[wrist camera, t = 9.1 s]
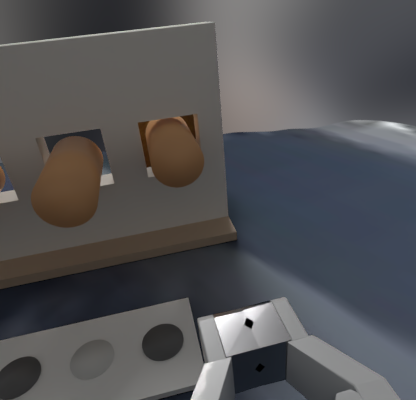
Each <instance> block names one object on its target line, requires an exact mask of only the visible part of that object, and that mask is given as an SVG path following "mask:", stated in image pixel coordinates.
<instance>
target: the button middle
mask: <svg viewBox="0 0 416 400" xmlns="http://www.w3.org/2000/svg"><path fill="white" fill-rule="evenodd" d="M102 167H103V156H102V153H101V151H100V149H99V147H98V146H97V145H96V144H95V143H94V142H92V141H91V140H89V139H87V138H84V137H79V136H70V137H66V138H64V139H62V140H60V141H59V142H58V143H57V144H56V145H55V146H54V148H53V151H52V152H51V154H50V156H49V158H48V160H47V162H46V164H45V166H44V168H43V170H42V172H41V174H40V176H39V178H38V180H37V182H36V184H35V186H34V188H33V190H32V193H31V204H32V207H33V209H34V211H35V212H36V214H37V215H38V216H39V217H40V218H41V219H42V220H44V221H45V222H47V223H49V224H51V225H54V226H57V227H63V228H70V227H76V226H80V225H82V224H84V223H86V222H87V221H89V220H90V219H91V218H92V217H93V215H94V214H95V212H96V210H97V206H98V199H99V191H100V183H101V175H102Z"/></svg>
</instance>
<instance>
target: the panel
mask: <svg viewBox="0 0 416 400" xmlns="http://www.w3.org/2000/svg"><path fill="white" fill-rule="evenodd" d="M192 114H193V116H194V125H195V134H196V142H197V143H198V145H199V147H200V149H201V151H202V153H203V156H204V167H203V170H202V173H201V174H200V176H199V177H198V178H197V179H196V180H195V181H194V182H193V183H191V184H189V185H187V186H184V187H178V188H175V187H169V186H166V185H164V184H162V183H161V182H159V181H158V180H157V178H156V177H155V176H154V174H153V172H152V168H151V167H146V162H145V157H144V152H143V147H142V142H141V137H140V132H139V127H138V123H139V122H145V121H152V120H159V119H165V118H172V117H178V116H185V115H192ZM99 128H100V129H101V133H102V137H103V141H104V145H105V149H106V152H107V156H108V160H109V164H110V168H111V172H112V174H106V175H101V183H100V191H99V199H98V206H97V210H96V212H95V214H94V215H93V217H92V218H91V219H90V220H89V221H87V222H86V223H84V224H82V225H80V226H76V227H70V228H63V227H57V226H54V225H51V224H49V223H47V222H45V221H44V220H42V219H41V218H40V217H39V216H38V215H37V214H36V212H35V211H34V209H33V207H32V204H31V193H32V190H33V188H34V186H35V184H36V182H37V180H38V178H39V176H40V174H41V172H42V170H43V168H44V166H45V164H46V162H47V160H48V158H49V156H50V154H49V151H48V148H47V145H46V142H45V139H44V137H45V136H52V135H59V134H66V133H72V132H79V131H86V130H92V129H99ZM0 157H1V160H2V162H3V164H4V167H5V169H6V171H7V174H8V176H9V178H10V181H11V183H12V185H13V188H14V190H12V191H6V192H0V289H3V288H8V287H13V286H18V285H22V284H27V283H32V282H37V281H42V280H46V279H51V278H56V277H61V276H66V275H70V274H75V273H80V272H85V271H90V270H94V269H99V268H104V267H109V266H114V265H118V264H123V263H128V262H133V261H138V260H142V259H147V258H152V257H157V256H161V255H166V254H171V253H176V252H181V251H185V250H190V249H195V248H200V247H205V246H209V245H214V244H219V243H224V242H229V241H233V240H237V232H236V230H235V228H234V226H233V224H232V222H231V220H230V218H229V216H228V203H227V189H226V174H225V160H224V146H223V132H222V118H221V104H220V89H219V76H218V61H217V47H216V33H215V23H214V22H200V23H191V24H183V25H175V26H174V25H173V26H165V27H156V28H147V29H138V30H129V31H120V32H111V33H102V34H93V35H85V36H76V37H67V38H57V39H49V40H40V41H30V42H21V43H12V44H3V45H0Z"/></svg>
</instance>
